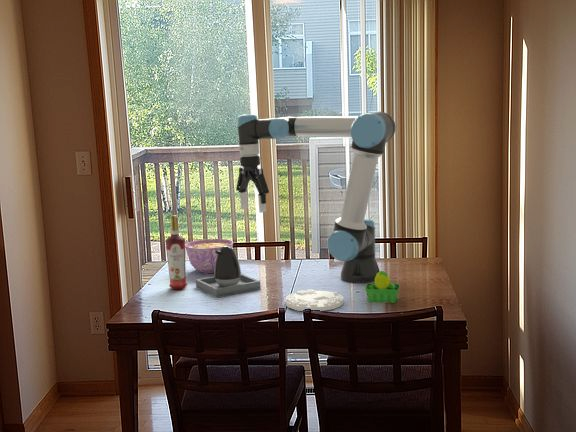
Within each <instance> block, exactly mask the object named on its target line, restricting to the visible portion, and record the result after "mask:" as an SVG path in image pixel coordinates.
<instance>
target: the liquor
mask: <svg viewBox="0 0 576 432" xmlns="http://www.w3.org/2000/svg"><path fill="white" fill-rule="evenodd" d="M169 219H170V220H169V221H170V236H169V237H167V238H166V239H165V242H164V243H165V249H166V258H167V264H168V265H167V267H168V274H169V285H168V287H169V288H170V289H172V290H173V291H181V290H182V291H183V290H184V289H185V288H187V286H188V283H187V276H186V274H187V273H186V271H187V270H186V248H185V244H186V238H184V237H183V236H181V235H180V234H179V229H178V228H179V227H178V215H176V214H175V215H170V216H169Z"/></svg>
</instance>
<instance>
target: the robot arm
mask: <svg viewBox="0 0 576 432" xmlns="http://www.w3.org/2000/svg"><path fill="white" fill-rule="evenodd" d="M396 126H397V125H396V122H395V120H394V118H393V117H392V116H391V115H390V114H389V113H387V112H384V111H372V112H365V113H362V114H361V115H359V116H283V117H275V118H262V119H261V118H260V119H259V118H258V116H257V114H254V113H253V114H240V115H238V116H237V128H236V129H237V133H238V134H237V135H238V144H239V145H238V146H239V147H238V150H239V155H240V157H239V161H240V162H239V163H240V166H241V167H239V169H238V177H237V183H236V191H237V192H238V193H239V197H240V209H241V210H248V209H249V202H248V191H247V190H248V189H247V188H248V186H249V183H250V181H252V182H253V184H254V186H255V189H256V191H257V192H258V194H257V195H258V196H257V197H258V211H259V213H260V214H262V213H267V194H269V193H270V190H269V187H268V183H267V181H266V177H265V174H264V169H263V168H261V167H260V168H259V167H258V166H260V165H261V156H260V155H259V154H261V153H260V144H259V142H260V141H259V140H274V139H275V140H279V139H280V140H281V139H285V138H287V137H289V138H291V137H293V138H294V137H296V138H297V137H303V138H304V137H305V138H306V137H308V138H309V137H314V138H315V137H316V138H317V137H318V138H351V139H352V141H351V146H350V148H351V150H352V151H353V158H352V161H351V162H352V163H351V166H350V172H349V175H348V181H347V185H346V191H345V193H344V195H345V196H344V199H343V204H342V209H341V213H340V217H338V218H336V219H335V222H334V224H333V225H334V226H333V231H332V232H331V233H330V235H329V236H328V238H327V240H326V241H327V242H326V248H327V250H328V252H329V254H330V255H331V256H332V257H333V258H334V259H335V260H338V261H339V262H343V263H342V267H341V270H340V279H341V280H342V281H344V282H348V283H349V282H350V283H372V282H375V281H374V280H375V277H376V275H377V273H378V272H380V271H381V270H380V268H379V265H378V263H377V262H378V261H377V259H376V233H375V232H376V231H375V230H376V227H375V221H374V220H373V219H370V218H369V219H368V218H365V217H366V214H367V209H368V205H369V201H370V200H369V199H370V195H371V191H372V186H373V183H374V177H375V173H376V169H377V165H378V159H379V158H380V157H382V156H383V155H384V153H385V149H386V143H388V142H389V141H390V140H392V138H393V137H394V136H395V133H396V129H397V128H396Z"/></svg>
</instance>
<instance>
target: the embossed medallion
mask: <svg viewBox="0 0 576 432" xmlns="http://www.w3.org/2000/svg"><path fill="white" fill-rule="evenodd" d="M284 303H285V306H286V307H287V308H288V309H289V308H291V309H292V310H294V311H296V310H297V312H304V311H303V310H304V309H307V308H310V309H312V310H320V311H319V312H324V311H330V310H334V309H337V308H339V307H341V306H342V305H344V296H343V295H341V294H339V292H338V291H327V290H314V289H313V288H311V289H305V290H304V289H300V290H297V291H296V293H294V292H293V293H289V294H288V295H286V297H285V300H284Z"/></svg>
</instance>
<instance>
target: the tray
mask: <svg viewBox="0 0 576 432" xmlns="http://www.w3.org/2000/svg"><path fill="white" fill-rule="evenodd" d="M195 287H196V288H197V289H198V290H201V291H203V292H205V293H207V294H209V295H210V296H211V295H212V296H213V297H214V298H222V297H227V296H230V295H231V296H232V295H236V294H237V295H238V294H241V293H246V292H252V291H253V292H254V291H257V290H261V280H259V279H255V278H254V277H251V276H248V275H246V274H243V273H241V277H240V281H239V282H238V284H237V285H233V286H228V287H222V286H220V285H218V283H217V282H216V280H215V278H214V276H208V277H203V278H198V279H195Z"/></svg>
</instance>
